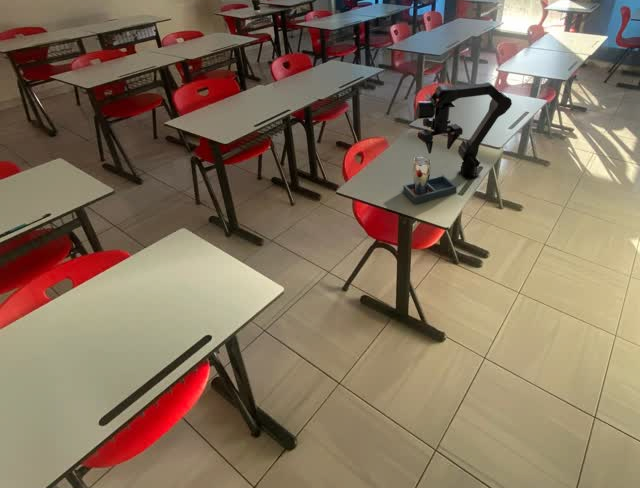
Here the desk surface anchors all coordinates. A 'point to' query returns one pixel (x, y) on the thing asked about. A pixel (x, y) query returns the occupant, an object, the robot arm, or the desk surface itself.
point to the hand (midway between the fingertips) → (438, 151)
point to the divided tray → (431, 189)
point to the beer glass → (421, 175)
